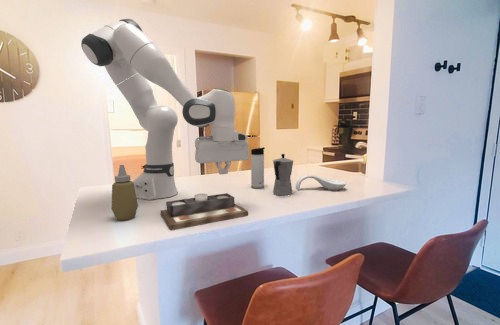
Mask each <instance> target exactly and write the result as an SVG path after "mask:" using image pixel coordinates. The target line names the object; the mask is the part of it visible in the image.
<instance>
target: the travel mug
mask: <svg viewBox="0 0 500 325" xmlns="http://www.w3.org/2000/svg"><path fill="white" fill-rule="evenodd" d="M265 149H266V147H257V148H252V149H251V153H250V154H251V156H250V164H251V166H250V167H251V169H250V170H251V172H250V174H251V177H250V178H251V180H250V181H251V183H250V184H251V185H250V186H251V188H252V189H254V190H259V189H260V190H263V189H265V188H264V187H265V153H264V152H265Z"/></svg>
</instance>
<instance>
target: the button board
mask: <svg viewBox="0 0 500 325" xmlns="http://www.w3.org/2000/svg"><path fill="white" fill-rule="evenodd" d="M207 196H208V201H201V202H196V201H195V197H190V198H184V199H176V200H169V201H168V200H167V201H166V202H165V203H166V205H165V206H166V209H163V210H161V209H160V216H161V217H162V219H163V221H164V222H165V223H166V225H167V227H168V228H169V229H170V231H173V230H174V231H175V230H179V229H184V228H185V229H186V228H190V227H195V226H199V225H206V224H210V223H211V224H212V223H216V222H220V221H221V222H222V221H226V220H232V219H238V218H241V217H242V218H243V217H248V216H249V211H248V210H246V209H245V208H243V207H242V206H240V205H238V204H236V203H235V196H233V195H231V194H230V193H227V192H226V193H219V194H218V193H217V194H211V195H207ZM218 196H228V198H221V199H218V198H216V197H218ZM175 202H184V203H185V204H180V205H174V206H172V203H175Z"/></svg>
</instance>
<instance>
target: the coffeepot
mask: <svg viewBox="0 0 500 325" xmlns="http://www.w3.org/2000/svg"><path fill="white" fill-rule="evenodd" d="M280 155H281V157H280V158H276V159H273V160H272V163H273V170H274V171H273V172H274V175H275V177H274V178H275V179H274V185H273V190H272V191H273V192H272V193H273V195H275V196H277V197H288V195H289V196H292V195H293V189H292V188H293V185H292V180H291V176H292V172H293V167H294V165H293V164H294V160H293V159H290V158H285V155H286V154H285V153H281V154H280Z"/></svg>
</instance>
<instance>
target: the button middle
mask: <svg viewBox="0 0 500 325" xmlns="http://www.w3.org/2000/svg"><path fill="white" fill-rule="evenodd" d="M208 196H209V195H208V194H207V193H197V194H195V195H194V198H195V201H196V202H201V201H208Z"/></svg>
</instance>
